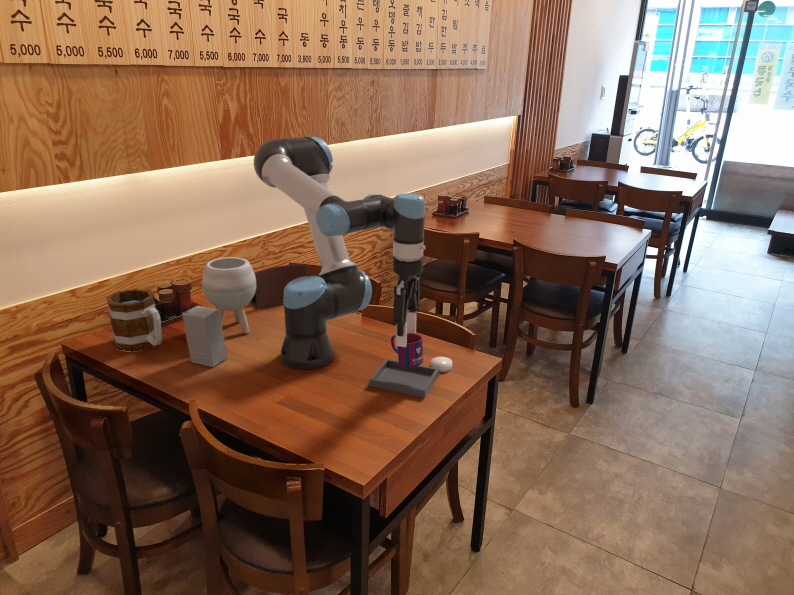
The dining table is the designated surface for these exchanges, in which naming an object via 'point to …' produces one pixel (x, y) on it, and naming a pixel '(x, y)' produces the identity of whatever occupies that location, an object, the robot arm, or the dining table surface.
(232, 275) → the planter
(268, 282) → the letter holder
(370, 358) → the dining table surface
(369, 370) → the dining table surface
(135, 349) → the mug
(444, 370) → the white rounded flat piece
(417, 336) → the cup
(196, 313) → the skincare box
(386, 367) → the tray
